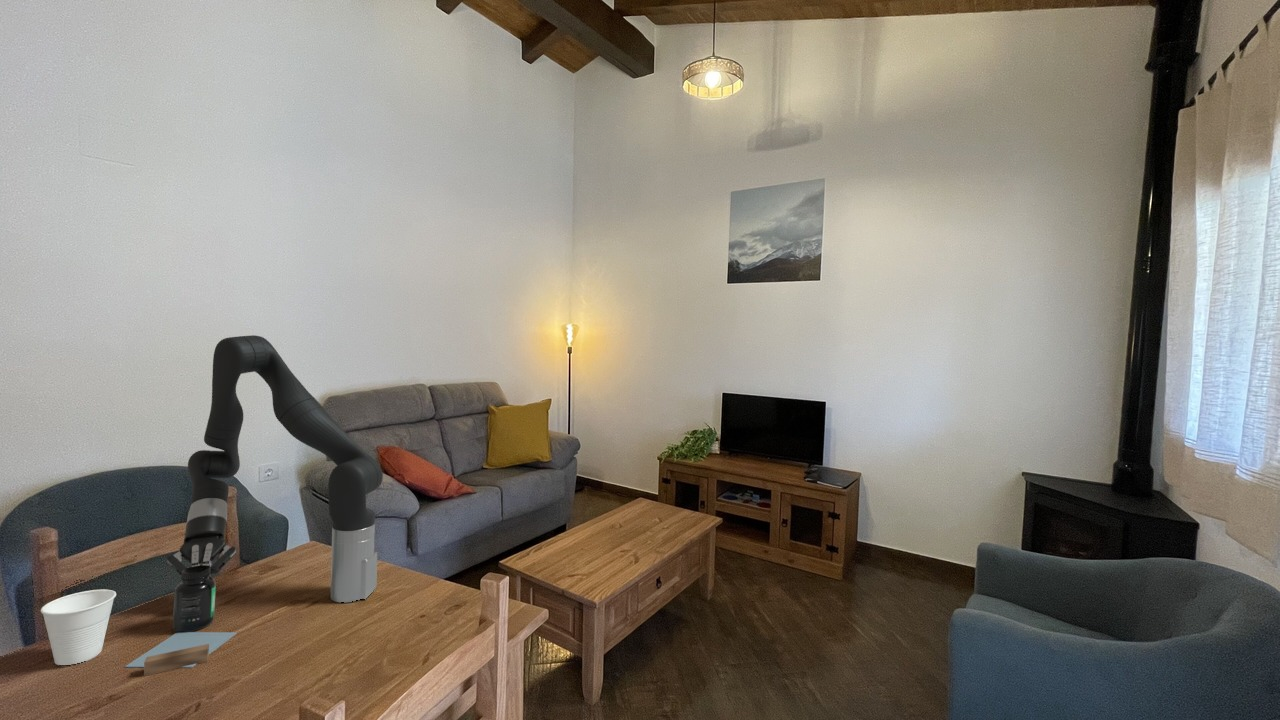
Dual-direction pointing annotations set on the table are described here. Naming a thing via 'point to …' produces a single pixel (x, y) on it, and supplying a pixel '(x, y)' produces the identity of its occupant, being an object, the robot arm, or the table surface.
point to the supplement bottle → (194, 599)
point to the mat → (185, 644)
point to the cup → (78, 625)
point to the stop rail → (176, 659)
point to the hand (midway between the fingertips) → (197, 592)
